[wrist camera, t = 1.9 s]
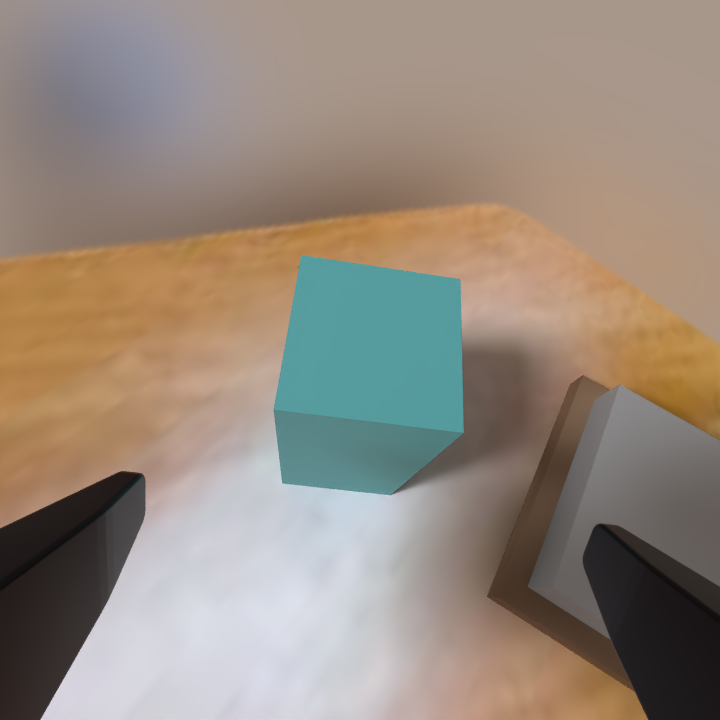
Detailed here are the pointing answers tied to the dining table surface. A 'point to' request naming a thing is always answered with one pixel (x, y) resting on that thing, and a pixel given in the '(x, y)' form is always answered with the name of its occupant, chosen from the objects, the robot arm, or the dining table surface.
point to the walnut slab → (532, 532)
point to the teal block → (368, 376)
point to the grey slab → (632, 497)
